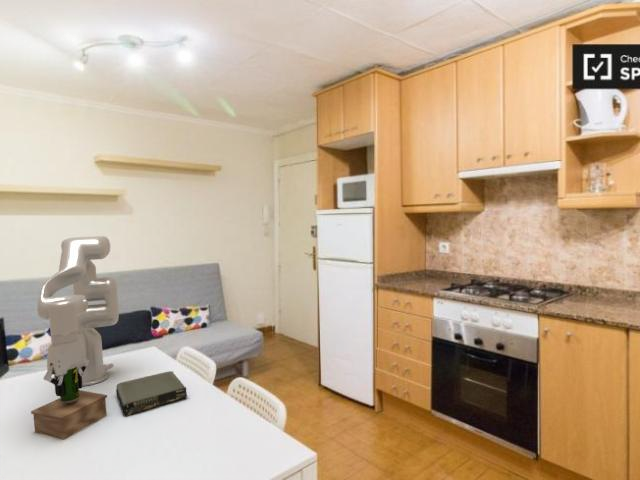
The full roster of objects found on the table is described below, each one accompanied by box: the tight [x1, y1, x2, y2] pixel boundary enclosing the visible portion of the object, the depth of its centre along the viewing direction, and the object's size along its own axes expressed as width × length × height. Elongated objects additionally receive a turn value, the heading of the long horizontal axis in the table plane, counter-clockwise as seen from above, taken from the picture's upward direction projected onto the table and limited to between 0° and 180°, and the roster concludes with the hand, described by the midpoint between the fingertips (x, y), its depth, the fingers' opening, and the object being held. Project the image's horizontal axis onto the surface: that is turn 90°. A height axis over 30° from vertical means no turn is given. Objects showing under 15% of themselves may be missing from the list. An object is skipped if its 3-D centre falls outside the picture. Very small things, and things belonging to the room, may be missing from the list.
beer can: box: [58, 364, 80, 403], centre depth 130 cm, size 5×5×12 cm
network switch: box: [115, 370, 187, 417], centre depth 148 cm, size 23×24×5 cm
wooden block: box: [30, 389, 108, 440], centre depth 131 cm, size 16×14×7 cm
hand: (69, 391), depth 130 cm, fingers closed on beer can, 5 cm apart
